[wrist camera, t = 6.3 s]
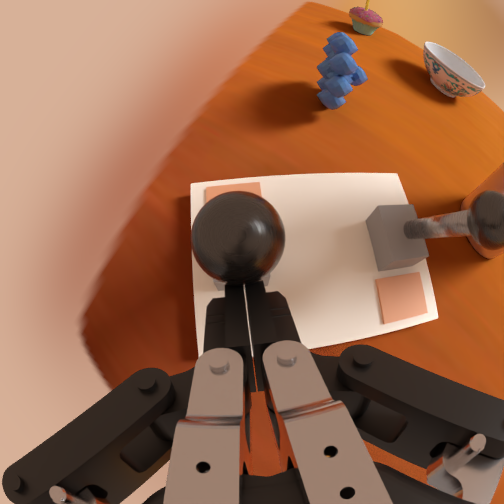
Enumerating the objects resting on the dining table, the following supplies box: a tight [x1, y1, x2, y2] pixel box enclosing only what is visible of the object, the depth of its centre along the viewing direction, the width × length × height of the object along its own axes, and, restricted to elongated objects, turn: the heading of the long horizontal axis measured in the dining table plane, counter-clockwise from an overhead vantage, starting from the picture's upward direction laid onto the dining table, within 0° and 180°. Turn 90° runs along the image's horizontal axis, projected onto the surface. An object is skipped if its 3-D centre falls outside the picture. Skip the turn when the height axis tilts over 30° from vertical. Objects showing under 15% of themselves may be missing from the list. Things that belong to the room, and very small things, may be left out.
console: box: [191, 173, 438, 357], centre depth 23 cm, size 16×22×5 cm
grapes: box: [317, 32, 368, 110], centre depth 27 cm, size 12×7×12 cm, turn 171°
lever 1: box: [191, 191, 286, 286], centre depth 13 cm, size 3×3×11 cm
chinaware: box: [424, 42, 485, 98], centre depth 34 cm, size 15×15×8 cm
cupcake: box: [349, 0, 383, 35], centre depth 39 cm, size 9×8×12 cm
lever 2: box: [404, 190, 504, 251], centre depth 14 cm, size 3×3×11 cm
